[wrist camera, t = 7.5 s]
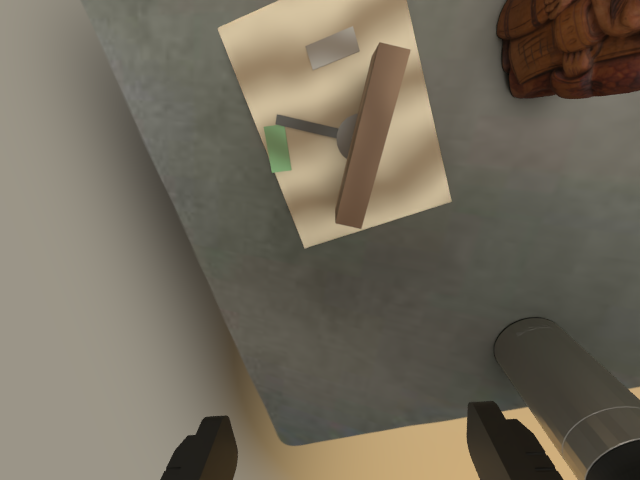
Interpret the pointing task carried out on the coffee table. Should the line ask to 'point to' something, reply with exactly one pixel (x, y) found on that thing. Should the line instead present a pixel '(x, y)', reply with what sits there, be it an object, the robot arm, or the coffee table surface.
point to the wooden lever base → (335, 106)
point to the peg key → (363, 132)
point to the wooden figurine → (571, 47)
